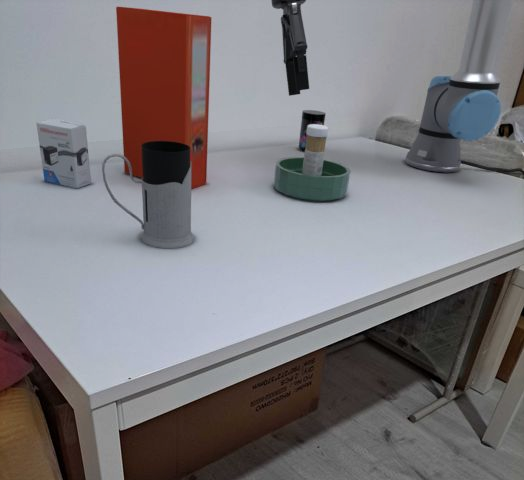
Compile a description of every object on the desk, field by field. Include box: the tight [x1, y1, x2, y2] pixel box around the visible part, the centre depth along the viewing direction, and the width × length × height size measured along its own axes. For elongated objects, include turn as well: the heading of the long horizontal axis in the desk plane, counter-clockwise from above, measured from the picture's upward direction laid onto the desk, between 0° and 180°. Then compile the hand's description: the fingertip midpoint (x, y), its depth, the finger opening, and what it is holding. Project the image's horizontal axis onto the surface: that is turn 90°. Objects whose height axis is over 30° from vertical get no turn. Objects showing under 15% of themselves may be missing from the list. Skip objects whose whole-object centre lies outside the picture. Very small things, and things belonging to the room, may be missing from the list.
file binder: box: [115, 6, 212, 190], centre depth 110 cm, size 8×17×32 cm, turn 58°
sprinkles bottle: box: [302, 124, 329, 176], centre depth 116 cm, size 5×5×14 cm
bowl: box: [273, 156, 352, 202], centre depth 118 cm, size 17×17×6 cm
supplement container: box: [298, 109, 327, 152], centre depth 153 cm, size 7×7×10 cm
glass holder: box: [101, 141, 194, 249], centre depth 84 cm, size 9×14×15 cm, turn 107°
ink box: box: [35, 118, 92, 189], centre depth 107 cm, size 8×5×12 cm, turn 68°
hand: (298, 92), depth 120 cm, fingers open, 13 cm apart
